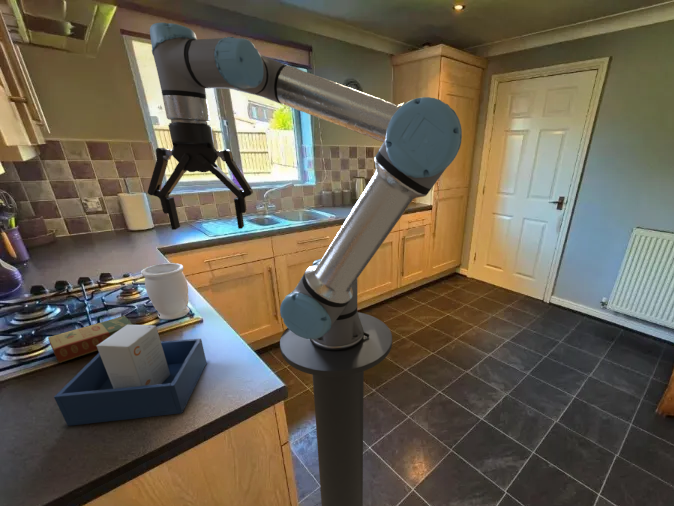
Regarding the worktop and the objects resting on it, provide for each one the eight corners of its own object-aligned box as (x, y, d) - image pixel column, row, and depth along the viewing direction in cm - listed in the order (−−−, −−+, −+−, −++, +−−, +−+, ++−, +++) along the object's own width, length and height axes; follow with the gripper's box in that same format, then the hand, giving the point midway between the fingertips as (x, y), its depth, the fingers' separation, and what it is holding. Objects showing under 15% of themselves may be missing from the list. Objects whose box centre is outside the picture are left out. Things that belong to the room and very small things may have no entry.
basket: (206, 362, 80) (201, 338, 77) (182, 413, 65) (174, 385, 62) (115, 370, 76) (106, 345, 73) (67, 426, 61) (53, 397, 58)
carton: (53, 350, 82) (46, 336, 80) (129, 327, 94) (125, 313, 92) (59, 364, 77) (52, 349, 76) (138, 337, 89) (134, 323, 87)
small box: (143, 373, 74) (127, 323, 69) (171, 374, 74) (157, 324, 69) (115, 399, 66) (94, 345, 61) (146, 400, 66) (128, 346, 61)
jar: (145, 318, 98) (131, 271, 92) (175, 304, 107) (164, 260, 101) (172, 324, 95) (160, 277, 89) (201, 309, 104) (191, 265, 98)
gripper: (258, 126, 71) (269, 223, 79) (128, 120, 66) (154, 224, 75) (252, 124, 64) (265, 230, 73) (107, 118, 59) (139, 232, 68)
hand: (209, 227), depth 74 cm, fingers open, 13 cm apart
